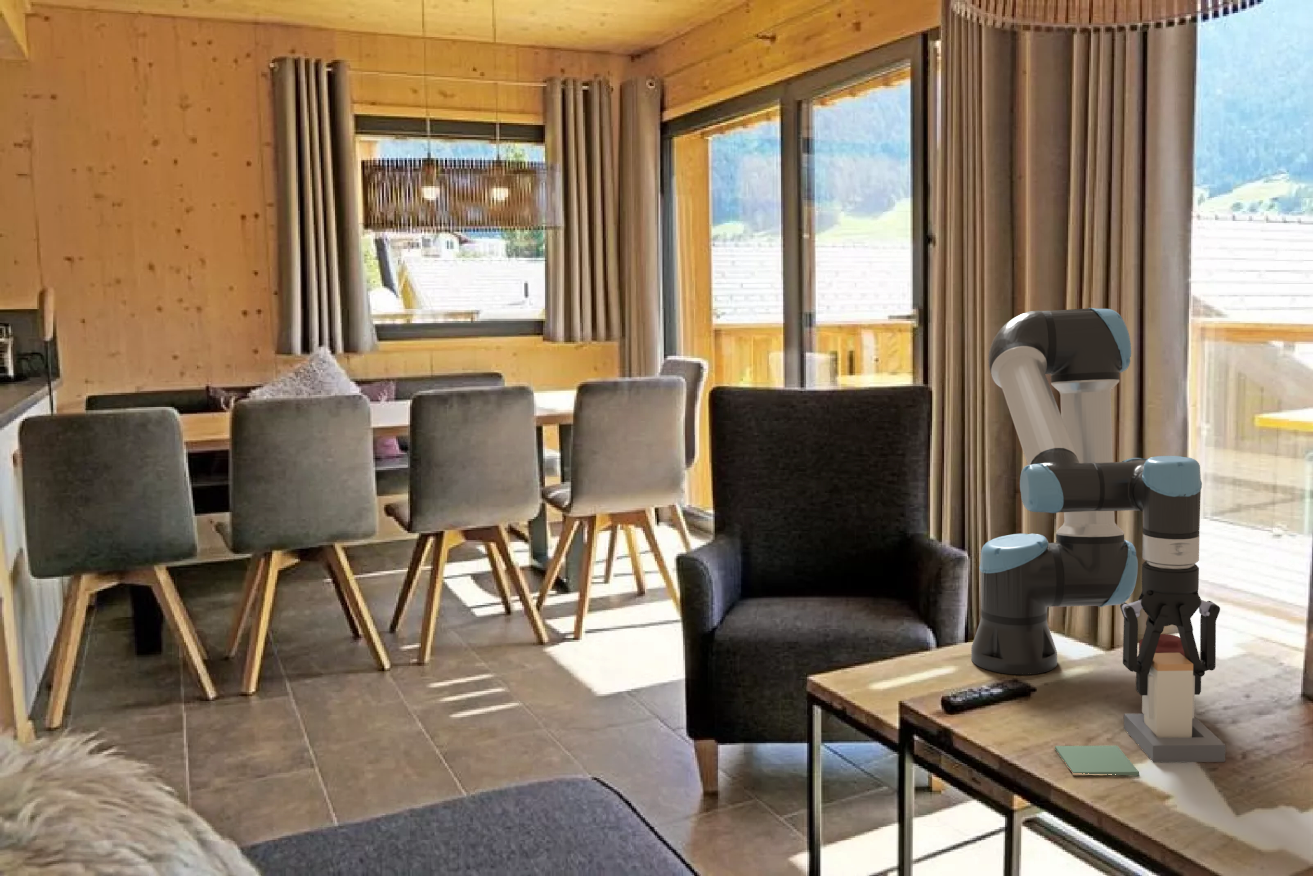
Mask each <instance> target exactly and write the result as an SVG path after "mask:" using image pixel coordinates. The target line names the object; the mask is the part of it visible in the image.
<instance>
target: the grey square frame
mask: <svg viewBox="0 0 1313 876" xmlns="http://www.w3.org/2000/svg"><path fill="white" fill-rule="evenodd" d="M1124 729H1125V730H1126V731H1127V732H1128V733H1127V732H1126V731H1125V730H1124ZM1123 730H1124V731H1125V732H1126V733H1127V734H1128V736H1129V735H1130V736H1131V737H1132V738H1133V739H1134V740H1135V741H1136V742H1135V741H1134V740H1133V739H1132V738H1131V737H1130V736H1129V737H1130V738H1131V739H1132V740H1133V741H1134V742H1135V743H1137V744H1139V746H1140V747H1141V748H1140V747H1139V746H1138V747H1139V748H1140V749H1141V750H1142V749H1143V750H1142V751H1143V752H1145V753H1146V754H1147V755H1148V756H1147V755H1146V754H1145V753H1144V754H1145V755H1146V756H1147V757H1148V759H1150V758H1151V759H1150V760H1152V761H1153V762H1152V761H1151V762H1152V763H1205V762H1207V763H1210V762H1213V763H1214V762H1215V763H1220V762H1222V763H1223V762H1226V744H1225V743H1224V742H1223V741H1222V740H1221V739H1220V738H1218V736H1216V735H1215V733H1213V732H1212V731H1211V730H1210V729H1209V728H1208V727H1207V726H1206V725H1204V723H1202V722H1201V721H1200V720H1199V719H1198V718H1197V717H1196V716H1195V715H1194V718H1192V737H1190V738H1158V737H1157V736H1156V735H1155V734H1154V733H1153V731H1152V730H1151V729H1150V728H1149V727H1148V726H1147V725H1146V724H1145V723H1144V713H1123ZM1137 744H1136V745H1137Z"/></svg>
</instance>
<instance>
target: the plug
mask: <svg viewBox="0 0 1313 876" xmlns="http://www.w3.org/2000/svg"><path fill="white" fill-rule="evenodd" d="M1150 673H1151V674H1152V675H1153V676H1154V719H1148V718H1147V716H1146V715H1145V714H1144V713H1143V714H1144V723H1145V724H1146V725H1147V726H1148V727H1149V728H1150V729H1151V730H1152V731H1153V733H1154V734H1155V735H1156V736H1157V737H1158V738H1190V737H1192V702H1193V663H1192V662H1190V661H1189V660H1188V659H1187V658H1185V657H1184V656H1183V655H1182V654H1181V653H1155V655H1154V658H1153V661H1152V665H1151V668H1150Z"/></svg>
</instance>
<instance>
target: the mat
mask: <svg viewBox="0 0 1313 876" xmlns="http://www.w3.org/2000/svg"><path fill="white" fill-rule="evenodd" d="M1055 749H1056V751H1057V752H1058V753H1059V755H1060V756H1061V758H1062V759H1063V760H1064V762H1066V764H1067V766H1068V767H1069V768H1070V769H1071V771H1072V772H1073V773H1082V774H1083V773H1085V774H1088V773H1089V774H1107V775H1108V774H1112V775H1115V774H1116V775H1139V776H1140V771H1139V770H1138V768H1137V767H1136V766H1135V765H1134V764H1133V763H1132V761H1131V760H1130V759H1129V758H1128V757H1127V756H1126V754H1125V753H1124V752H1123V751H1122V750H1121V748H1120V747H1119V745H1054V750H1055ZM1056 751H1055V752H1056ZM1057 752H1056V753H1057ZM1059 755H1058V756H1059ZM1060 756H1059V757H1060ZM1061 758H1060V759H1061ZM1062 759H1061V760H1062ZM1064 762H1063V763H1064Z"/></svg>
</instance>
